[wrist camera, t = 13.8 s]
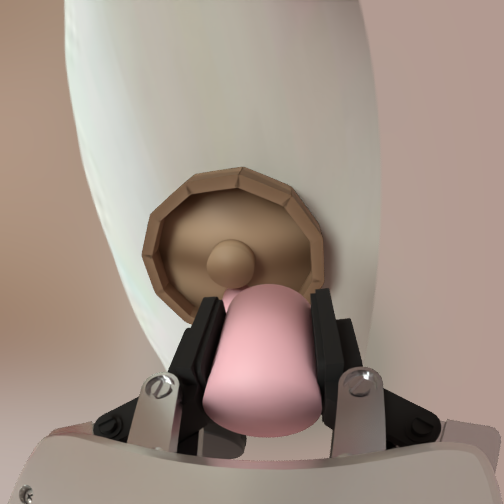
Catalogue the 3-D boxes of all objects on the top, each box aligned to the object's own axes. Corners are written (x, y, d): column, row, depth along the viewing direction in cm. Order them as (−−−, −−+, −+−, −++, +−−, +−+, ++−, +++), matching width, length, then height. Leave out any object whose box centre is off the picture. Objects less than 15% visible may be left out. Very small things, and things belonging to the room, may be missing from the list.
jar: (227, 390, 37) (213, 464, 27) (178, 362, 35) (152, 438, 25) (270, 363, 34) (264, 450, 23) (217, 330, 32) (193, 421, 21)
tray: (137, 185, 24) (122, 194, 22) (313, 159, 22) (317, 165, 19) (180, 319, 31) (173, 336, 29) (321, 312, 29) (324, 330, 27)
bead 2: (218, 287, 11) (187, 375, 7) (312, 280, 11) (323, 372, 7) (235, 352, 13) (218, 435, 9) (314, 348, 12) (320, 434, 8)
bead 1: (219, 285, 27) (209, 316, 23) (257, 282, 26) (253, 314, 23) (227, 314, 29) (219, 346, 25) (262, 312, 28) (259, 345, 24)
